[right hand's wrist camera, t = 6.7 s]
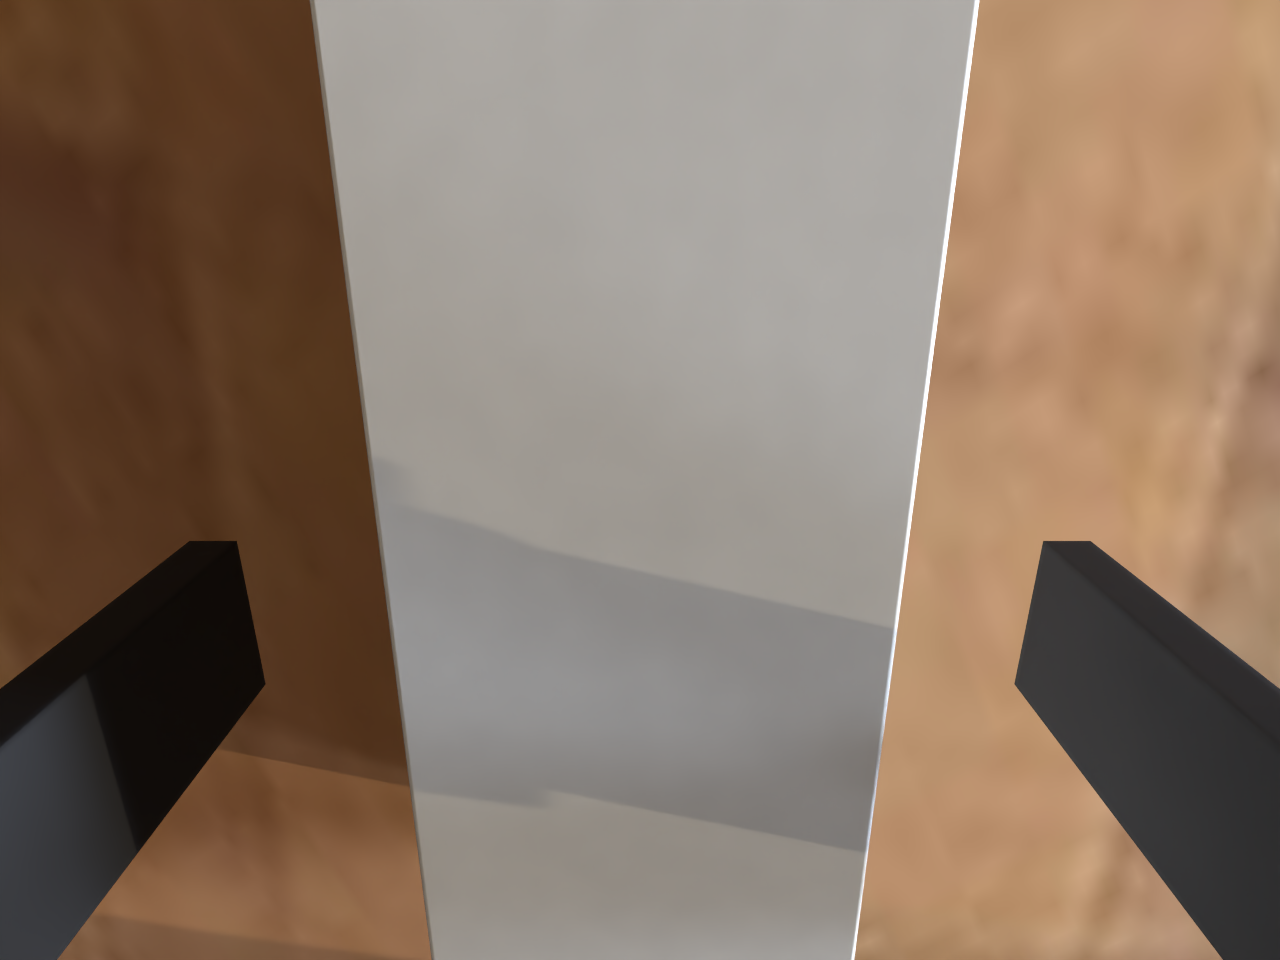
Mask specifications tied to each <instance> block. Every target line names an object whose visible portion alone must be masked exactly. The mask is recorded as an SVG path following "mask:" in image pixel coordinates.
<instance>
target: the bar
mask: <svg viewBox="0 0 1280 960" xmlns="http://www.w3.org/2000/svg"><path fill="white" fill-rule="evenodd" d="M978 6H979V0H310V7H311V15H312V22H313V30H314V38H315V46H316V54H317V62H318V70H319V77H320V85H321V93H322V101H323V109H324V117H325V125H326V132H327V140H328V148H329V156H330V164H331V172H332V180H333V187H334V195H335V203H336V211H337V219H338V227H339V235H340V242H341V250H342V258H343V266H344V274H345V282H346V290H347V297H348V305H349V313H350V321H351V329H352V337H353V345H354V352H355V360H356V368H357V376H358V384H359V392H360V400H361V407H362V415H363V423H364V431H365V439H366V447H367V455H368V462H369V470H370V478H371V486H372V494H373V502H374V510H375V517H376V525H377V533H378V541H379V549H380V557H381V565H382V572H383V580H384V588H385V596H386V604H387V612H388V620H389V627H390V635H391V643H392V651H393V659H394V667H395V675H396V682H397V690H398V698H399V706H400V714H401V722H402V730H403V737H404V745H405V753H406V761H407V769H408V777H409V785H410V792H411V800H412V808H413V816H414V824H415V832H416V840H417V847H418V855H419V863H420V871H421V879H422V887H423V895H424V902H425V910H426V918H427V926H428V934H429V942H430V950H431V957H432V960H854V955H855V947H856V940H857V932H858V924H859V917H860V909H861V901H862V894H863V886H864V878H865V871H866V863H867V855H868V848H869V840H870V832H871V825H872V817H873V809H874V802H875V794H876V786H877V779H878V771H879V764H880V756H881V748H882V741H883V733H884V725H885V718H886V710H887V702H888V695H889V687H890V679H891V672H892V664H893V656H894V649H895V641H896V633H897V626H898V618H899V610H900V603H901V595H902V588H903V580H904V572H905V565H906V557H907V549H908V542H909V534H910V526H911V519H912V511H913V503H914V496H915V488H916V480H917V473H918V465H919V457H920V450H921V442H922V435H923V427H924V419H925V412H926V404H927V396H928V389H929V381H930V373H931V366H932V358H933V350H934V343H935V335H936V327H937V320H938V312H939V304H940V297H941V289H942V281H943V274H944V266H945V259H946V251H947V243H948V236H949V228H950V220H951V213H952V205H953V197H954V190H955V182H956V174H957V167H958V159H959V151H960V144H961V136H962V128H963V121H964V113H965V106H966V98H967V90H968V83H969V75H970V67H971V60H972V52H973V44H974V37H975V29H976V21H977V14H978Z"/></svg>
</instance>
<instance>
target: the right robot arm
mask: <svg viewBox="0 0 1280 960" xmlns="http://www.w3.org/2000/svg"><path fill="white" fill-rule="evenodd" d="M264 685H265V679H264V674H263V669H262V664H261V659H260V654H259V649H258V645H257V640H256V635H255V630H254V625H253V620H252V615H251V610H250V605H249V600H248V595H247V590H246V585H245V580H244V575H243V570H242V565H241V560H240V555H239V550H238V545H237V541H189V542H188V543H187V544H185V545H184V546H183V547H181V548H180V549H179V550H178V551H176V552H175V553H174V554H172V555H171V556H170V557H169V558H167V559H166V560H165V561H164V562H162V563H161V564H160V565H158V566H157V567H156V568H155V569H153V570H152V571H151V572H149V573H148V574H147V575H146V576H144V577H143V578H142V579H140V580H139V581H138V582H137V583H135V584H134V585H133V586H132V587H130V588H129V589H128V590H126V591H125V592H124V593H123V594H121V595H120V596H119V597H117V598H116V599H115V600H114V601H112V602H111V603H110V604H108V605H107V606H106V607H105V608H103V609H102V610H101V611H100V612H98V613H97V614H96V615H94V616H93V617H92V618H91V619H89V620H88V621H87V622H85V623H84V624H83V625H82V626H80V627H79V628H78V629H76V630H75V631H74V632H73V633H71V634H70V635H69V636H68V637H66V638H65V639H64V640H62V641H61V642H60V643H59V644H57V645H56V646H55V647H53V648H52V649H51V650H50V651H48V652H47V653H46V654H44V655H43V656H42V657H41V658H39V659H38V660H37V661H36V662H34V663H33V664H32V665H30V666H29V667H28V668H27V669H25V670H24V671H23V672H21V673H20V674H19V675H18V676H16V677H15V678H14V679H13V680H11V681H10V682H9V683H7V684H6V685H5V686H4V687H2V688H1V689H0V960H57V959H58V958H59V956H60V955H61V954H62V952H63V951H64V950H65V948H66V947H67V946H68V944H69V943H70V942H71V940H72V939H73V938H74V936H75V935H76V934H77V932H78V931H79V930H80V928H81V927H82V926H83V925H84V923H85V922H86V921H87V919H88V918H89V917H90V915H91V914H92V913H93V911H94V910H95V909H96V907H97V906H98V905H99V903H100V902H101V901H102V899H103V898H104V897H105V895H106V894H107V893H108V891H109V890H110V889H111V888H112V886H113V885H114V884H115V882H116V881H117V880H118V878H119V877H120V876H121V874H122V873H123V872H124V870H125V869H126V868H127V866H128V865H129V864H130V862H131V861H132V860H133V858H134V857H135V856H136V854H137V853H138V852H139V851H140V849H141V848H142V847H143V845H144V844H145V843H146V841H147V840H148V839H149V837H150V836H151V835H152V833H153V832H154V831H155V829H156V828H157V827H158V825H159V824H160V823H161V821H162V820H163V819H164V817H165V816H166V815H167V814H168V812H169V811H170V810H171V808H172V807H173V806H174V804H175V803H176V802H177V800H178V799H179V798H180V796H181V795H182V794H183V792H184V791H185V790H186V788H187V787H188V786H189V784H190V783H191V782H192V780H193V779H194V778H195V777H196V775H197V774H198V773H199V771H200V770H201V769H202V767H203V766H204V765H205V763H206V762H207V761H208V759H209V758H210V757H211V755H212V754H213V753H214V751H215V750H216V749H217V747H218V746H219V745H220V743H221V742H222V741H223V740H224V738H225V737H226V736H227V734H228V733H229V732H230V730H231V729H232V728H233V726H234V725H235V724H236V722H237V721H238V720H239V718H240V717H241V716H242V714H243V713H244V712H245V710H246V709H247V708H248V706H249V705H250V704H251V703H252V701H253V700H254V699H255V697H256V696H257V695H258V693H259V692H260V691H261V689H262V688H263V687H264ZM1015 685H1016V687H1017V688H1018V689H1019V691H1020V692H1021V693H1022V695H1023V696H1024V697H1025V699H1026V700H1027V701H1028V703H1029V704H1030V705H1031V706H1032V708H1033V709H1034V710H1035V712H1036V713H1037V714H1038V716H1039V717H1040V718H1041V720H1042V721H1043V722H1044V724H1045V725H1046V726H1047V728H1048V729H1049V730H1050V732H1051V733H1052V734H1053V736H1054V737H1055V738H1056V740H1057V741H1058V742H1059V743H1060V745H1061V746H1062V747H1063V749H1064V750H1065V751H1066V753H1067V754H1068V755H1069V757H1070V758H1071V759H1072V761H1073V762H1074V763H1075V765H1076V766H1077V767H1078V769H1079V770H1080V771H1081V773H1082V774H1083V775H1084V777H1085V778H1086V779H1087V780H1088V782H1089V783H1090V784H1091V786H1092V787H1093V788H1094V790H1095V791H1096V792H1097V794H1098V795H1099V796H1100V798H1101V799H1102V800H1103V802H1104V803H1105V804H1106V806H1107V807H1108V808H1109V810H1110V811H1111V812H1112V814H1113V815H1114V816H1115V817H1116V819H1117V820H1118V821H1119V823H1120V824H1121V825H1122V827H1123V828H1124V829H1125V831H1126V832H1127V833H1128V835H1129V836H1130V837H1131V839H1132V840H1133V841H1134V843H1135V844H1136V845H1137V847H1138V848H1139V849H1140V851H1141V852H1142V853H1143V854H1144V856H1145V857H1146V858H1147V860H1148V861H1149V862H1150V864H1151V865H1152V866H1153V868H1154V869H1155V870H1156V872H1157V873H1158V874H1159V876H1160V877H1161V878H1162V880H1163V881H1164V882H1165V884H1166V885H1167V886H1168V888H1169V889H1170V890H1171V891H1172V893H1173V894H1174V895H1175V897H1176V898H1177V899H1178V901H1179V902H1180V903H1181V905H1182V906H1183V907H1184V909H1185V910H1186V911H1187V913H1188V914H1189V915H1190V917H1191V918H1192V919H1193V921H1194V922H1195V923H1196V925H1197V926H1198V927H1199V928H1200V930H1201V931H1202V932H1203V934H1204V935H1205V936H1206V938H1207V939H1208V940H1209V942H1210V943H1211V944H1212V946H1213V947H1214V948H1215V950H1216V951H1217V952H1218V954H1219V955H1220V956H1221V958H1222V959H1223V960H1280V689H1279V688H1278V687H1276V686H1275V685H1274V684H1273V683H1271V682H1270V681H1269V680H1267V679H1266V678H1265V677H1264V676H1262V675H1261V674H1260V673H1259V672H1257V671H1256V670H1255V669H1253V668H1252V667H1251V666H1250V665H1248V664H1247V663H1246V662H1244V661H1243V660H1242V659H1241V658H1239V657H1238V656H1237V655H1236V654H1234V653H1233V652H1232V651H1230V650H1229V649H1228V648H1227V647H1225V646H1224V645H1223V644H1221V643H1220V642H1219V641H1218V640H1216V639H1215V638H1214V637H1212V636H1211V635H1210V634H1209V633H1207V632H1206V631H1205V630H1204V629H1202V628H1201V627H1200V626H1198V625H1197V624H1196V623H1195V622H1193V621H1192V620H1191V619H1189V618H1188V617H1187V616H1186V615H1184V614H1183V613H1182V612H1180V611H1179V610H1178V609H1177V608H1175V607H1174V606H1173V605H1172V604H1170V603H1169V602H1168V601H1166V600H1165V599H1164V598H1163V597H1161V596H1160V595H1159V594H1157V593H1156V592H1155V591H1154V590H1152V589H1151V588H1150V587H1148V586H1147V585H1146V584H1145V583H1143V582H1142V581H1141V580H1140V579H1138V578H1137V577H1136V576H1134V575H1133V574H1132V573H1131V572H1129V571H1128V570H1127V569H1125V568H1124V567H1123V566H1122V565H1120V564H1119V563H1118V562H1116V561H1115V560H1114V559H1113V558H1111V557H1110V556H1109V555H1108V554H1106V553H1105V552H1104V551H1102V550H1101V549H1100V548H1099V547H1097V546H1096V545H1095V544H1093V543H1092V542H1091V541H1043V545H1042V550H1041V555H1040V560H1039V565H1038V570H1037V575H1036V580H1035V585H1034V590H1033V595H1032V600H1031V605H1030V610H1029V615H1028V620H1027V625H1026V630H1025V635H1024V640H1023V645H1022V649H1021V654H1020V659H1019V664H1018V669H1017V674H1016V679H1015Z"/></svg>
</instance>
